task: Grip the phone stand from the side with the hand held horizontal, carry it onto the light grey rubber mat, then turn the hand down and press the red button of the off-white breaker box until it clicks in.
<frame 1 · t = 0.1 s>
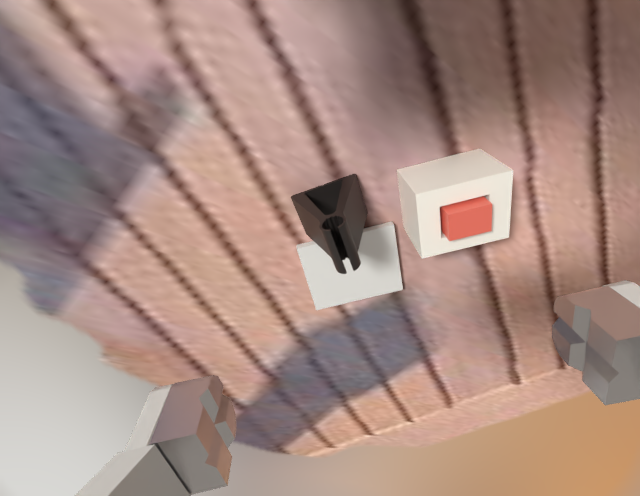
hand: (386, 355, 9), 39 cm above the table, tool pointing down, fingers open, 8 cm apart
grey mat: (351, 266, 55), on the table
phone stand: (329, 203, 50), on the table
breaker box: (439, 190, 50), on the table
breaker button: (464, 217, 43), point 8 cm above the table, slide at 0.0 cm
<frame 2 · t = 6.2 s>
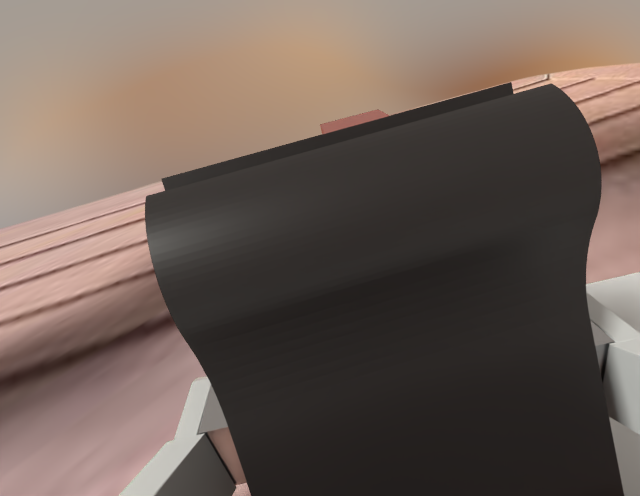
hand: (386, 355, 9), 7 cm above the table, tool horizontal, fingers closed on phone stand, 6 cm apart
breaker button: (360, 150, 21), point 8 cm above the table, slide at 0.0 cm
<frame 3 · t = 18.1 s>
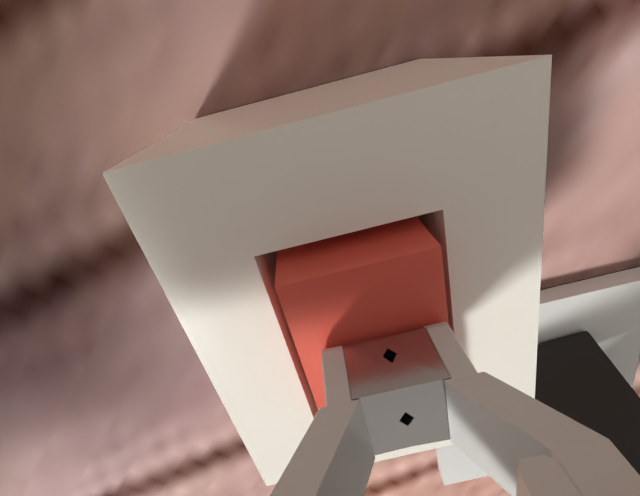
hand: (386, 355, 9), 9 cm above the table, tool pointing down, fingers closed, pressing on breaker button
grey mat: (524, 384, 23), on the table
phone stand: (529, 395, 22), point 1 cm above the table, touching grey mat
breaker box: (335, 216, 17), on the table
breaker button: (365, 315, 10), point 7 cm above the table, slide at 0.6 cm, touching gripper
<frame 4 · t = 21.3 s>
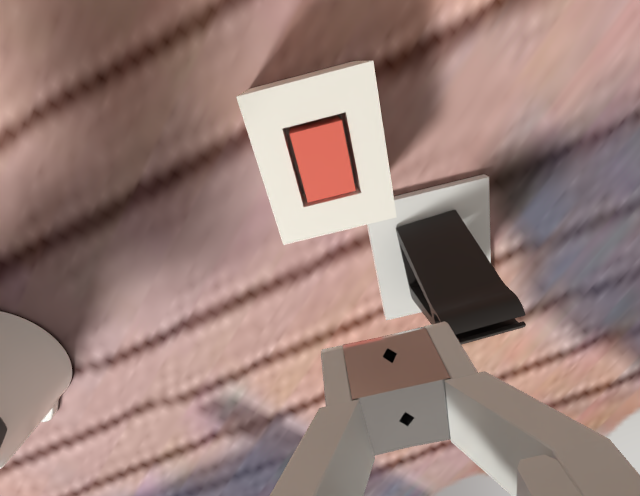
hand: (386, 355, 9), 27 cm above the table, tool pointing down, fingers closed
grey mat: (429, 250, 39), on the table
phone stand: (430, 254, 38), point 1 cm above the table, touching grey mat
breaker box: (316, 140, 33), on the table
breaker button: (322, 158, 27), point 7 cm above the table, slide at 1.2 cm
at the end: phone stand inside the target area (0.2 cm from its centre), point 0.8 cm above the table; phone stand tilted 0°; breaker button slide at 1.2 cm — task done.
